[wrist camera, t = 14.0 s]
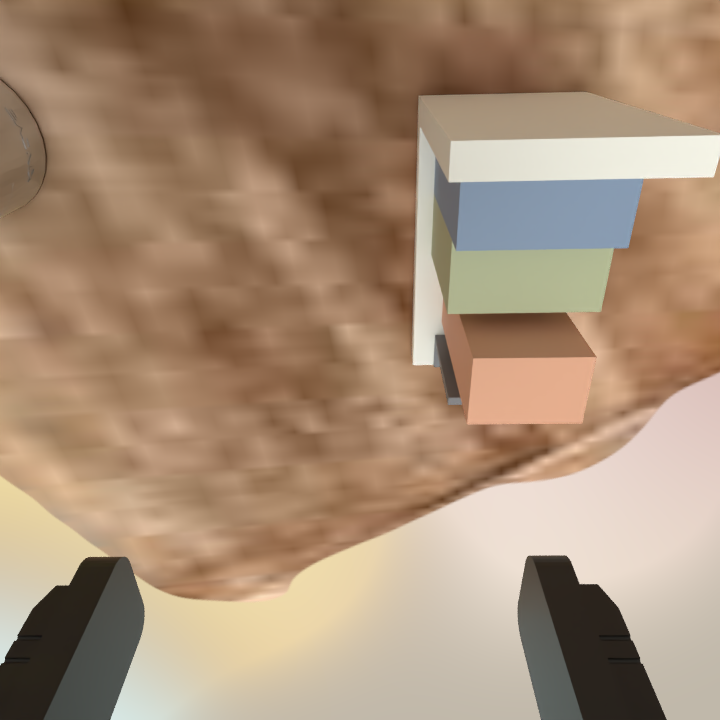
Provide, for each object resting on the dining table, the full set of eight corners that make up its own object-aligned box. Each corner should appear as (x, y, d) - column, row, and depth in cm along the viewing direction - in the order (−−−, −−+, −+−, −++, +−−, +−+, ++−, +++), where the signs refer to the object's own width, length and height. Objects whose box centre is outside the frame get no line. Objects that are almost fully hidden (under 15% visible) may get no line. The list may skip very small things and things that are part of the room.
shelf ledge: (411, 354, 44) (431, 501, 30) (418, 95, 35) (450, 141, 21) (544, 353, 43) (622, 499, 30) (586, 91, 34) (725, 135, 21)
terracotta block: (441, 322, 41) (467, 424, 30) (444, 268, 38) (473, 358, 28) (527, 320, 40) (582, 423, 30) (534, 267, 38) (596, 357, 28)
